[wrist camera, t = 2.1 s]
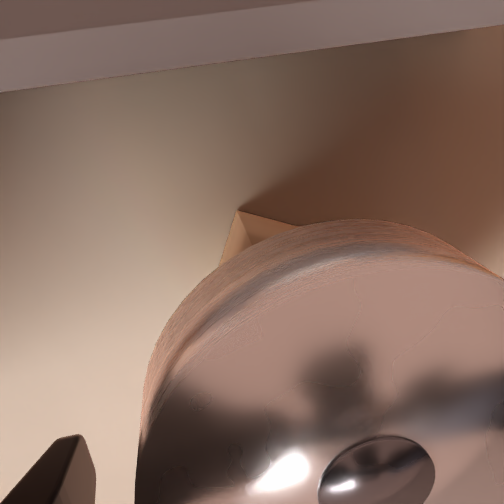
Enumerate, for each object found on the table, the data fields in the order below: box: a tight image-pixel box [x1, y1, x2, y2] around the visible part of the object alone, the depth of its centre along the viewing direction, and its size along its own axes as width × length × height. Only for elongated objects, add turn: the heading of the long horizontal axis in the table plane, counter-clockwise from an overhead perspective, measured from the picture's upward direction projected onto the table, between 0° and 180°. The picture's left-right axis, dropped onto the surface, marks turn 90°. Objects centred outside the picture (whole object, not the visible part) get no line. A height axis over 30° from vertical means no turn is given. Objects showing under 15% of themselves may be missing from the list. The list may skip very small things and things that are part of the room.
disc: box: [135, 219, 504, 504], centre depth 8 cm, size 7×7×2 cm
